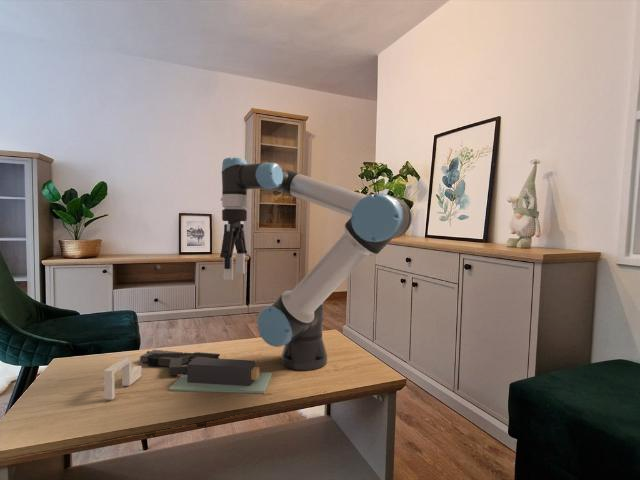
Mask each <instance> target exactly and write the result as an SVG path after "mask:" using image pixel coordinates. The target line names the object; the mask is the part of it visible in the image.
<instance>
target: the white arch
mask: <svg viewBox="0 0 640 480" xmlns="http://www.w3.org/2000/svg"><path fill="white" fill-rule="evenodd" d="M120 370H121V372H122V374H121V376H122V377H121V378H122V379H121V380H122V382H121V383H122V386H128V387H129V386H131V385H132V384H133V383H135V382H136V381H137V380H138V379H140V378H141V377H142V365H134V366H132V357H123V358H121V359H120V360H118V361H117V362H115V363H114V364H112V365H111V366H109V367H108V368H106V369H105V370H104V371H103V379H104V380H103V382H104V385H103V389H104V400H113V399H115V398H116V397H115V395H116V394H115V373H117V372H118V371H120Z"/></svg>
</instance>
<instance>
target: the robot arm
mask: <svg viewBox="0 0 640 480" xmlns="http://www.w3.org/2000/svg"><path fill="white" fill-rule="evenodd" d="M221 185H222V190H221V195H222V196H221V198H220V201H221V205H222V208H223V209H222V210H221V220H222V221H223V222H227V223H224V225H223V237H222V244H221V249H220V250H221V251H220V256H219V257H220V258H222V259H223V261H222V263H223V264H222V265H223V269H222V270H223V280H224V281H226V280H227V281H228V280H229V281H233V280H234V257H233V254H234V253H233V252H234V248H235V251H236V253H235V274H245V254H248V250H247V247H246V246H247V245H246V237H245V231H244V229H245V226H244V225H245V224H244V223H242V222H247V220H248V219H247V218H248V214H247V213H248V211H247V209H246V208H247V207H248V196H247V195H248V194H247V192H248V190H266V191H273V192H280V193H281V194H282V193H283V194H285V195H289V196H291V197H295V198H298V199H300V200H303V201H306V202H308V203H312V204H315V205H317V206H320V207H322V208H325V209H329V210H331V211H333V212H336V213H339V214H342V215H345V216H347V217H349V219H348V220H347V221H346V223H345V224H344V233H343V234H342V235H341V236H340V237H339V239H338V240H336V242H335V243H334V245H332V247H331V248H330V249H329V250H328V251H327V252H326V253H325V254H324V255H323V256H322V257H321V258H320V260H319V261H318V262H316V264H315V265H314V266H313V267H312V269H311V270H309V272H308V273H307V274H306V275H305V276H304V277H303V278H302V279H301V280H300V281H299V282H298V284H297V285H296V286H295V287H294V288H293V289H292V290H290V289H289V290H285V291H283V293H281V295H280V296H279V297H278V298H277V300H275V301H274V302H273V304H271V305H268V306H266V307H264V308H263V309H262V310H260V312H259V313H258V316H257V318H256V324H257V331H258V334H259V337H261V339H262V340H263V341H264V342H265V343H266V344H268V346H271V347H275V348H278V347H283V346H284V347H283V349H282V353H281V364H282V365H283V366H285V367H286V368H289V369H291V370H297V371H311V370H316V369H320V368H323V367H324V366H326V365H327V363H328V352H327V349H326V347H325V342H324V339H323V318H324V317H323V316H324V315H323V314H324V313H323V312H324V302H325V301H326V300H327V299H328V298H329V297H330V295H332V294H333V293H334V291H336V289H337V288H338V287H339V286H340V285H341V284H342V283H343V282H344V281H345V280H346V279H347V278H349V276H350V275H351V274H352V273H353V272H354V271H355V270H356V269H357V268H358V266H360V265H361V264H362V263H363V261H365V259H366V258H367V257H368V256H372V255H374V256H375V255H377V256H378V254H379V253H380V252H381V251H382V250H383V249H384V248H385V247H387V245H388V244H389V243H390V242H391V241H392V240H394V239H396V238H400V237H402V236H403V235H405V233H407V232H408V230H409V229H410V226H411V224H412V217H413V216H412V212H411V209H410V207H409V206H408V205H407V203H406V202H405V201H404V200H403V199H401V198H398V197H394V196H391V195H389V194H387V193H372V194H368V195H367V194H363V193H360V192H357V191H354V190H351V189H348V188H345V187H342V186H339V185H335V184H332V183H329V182H326V181H322V180H319V179H316V178H313V177H310V176H307V175H304V174H301V173H297V172H295V171H293V170H290V169H286V168H285V169H284V168H282V167H280V165H279V164H278V163H275V162H266V161H265V162H262V163H261V162H260V163H251V164H250V163H249V164H248V163H247V160H246V159H245V158H242V157H226V158H224V159H223V160H222V166H221Z"/></svg>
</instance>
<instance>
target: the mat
mask: <svg viewBox="0 0 640 480" xmlns="http://www.w3.org/2000/svg"><path fill="white" fill-rule="evenodd" d="M272 375H273V373H272V372H268V371H267V372H261V371H259V377H258V379H257V380H253V382H252V383H251V385H250V386H238V385H222V384H205V383H188V382H187V374H181V375H180V377H178V379H176V381H175V382H174V383H172V385H171V386H170V387H169V388H168V391H170V392H171V391H173V392H202V393H203V392H205V393H207V392H208V393H209V392H210V393H232V394H233V393H236V394H238V393H239V394H265V392H266V390H267V388H268V386H269V385H268V384H269V383H270V381H271V377H272Z"/></svg>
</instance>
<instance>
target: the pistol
mask: <svg viewBox="0 0 640 480" xmlns="http://www.w3.org/2000/svg"><path fill="white" fill-rule="evenodd" d="M220 356H221V353H212V352H201V351H200V352H199V351H195V352H183V351H171V350H161V349H159V350H158V349H153V350H151V351H150V350H147V351H146V353H144V354H141V355H140V356H139V357H140V358H139V359H140V362H144V363H146V362H147V366H153V367H154V366H155V367H156V366H162V367H168V371H169V372H168V374H169V376H173V375H174V376H175V375H177V376H178V375H180V376H181V375H183V374H187V365H184V364H188V363H189V362H191V361H192V360H193V359H194V358H195V357H197V358H216V359H221V358H220Z"/></svg>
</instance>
